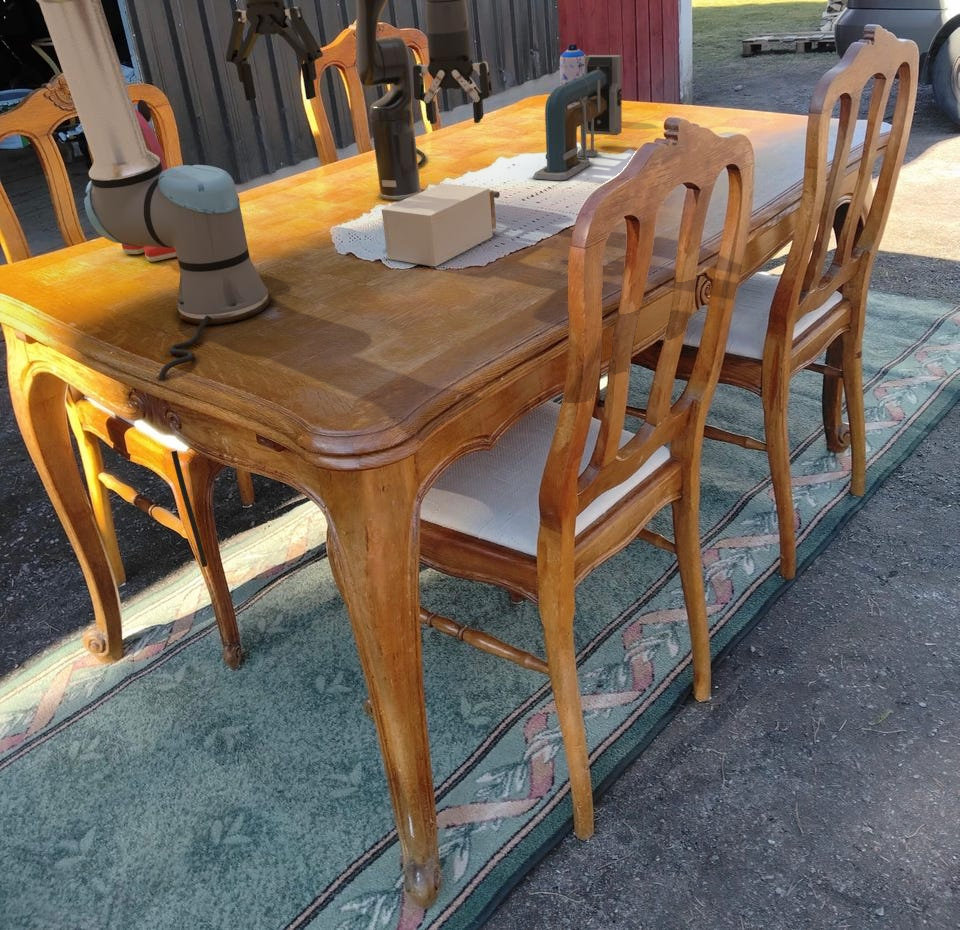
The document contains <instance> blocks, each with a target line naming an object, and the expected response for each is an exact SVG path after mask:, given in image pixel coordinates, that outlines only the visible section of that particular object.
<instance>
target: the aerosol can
mask: <svg viewBox="0 0 960 930" xmlns="http://www.w3.org/2000/svg"><path fill="white" fill-rule="evenodd" d="M586 56H587V55H586V54H585V52H584V51H583V50H581V49H579V48H578V44H577V43H574V44H568V48H567V49H566V50H565V51H563V52H562V53H561V55H560V56H559V79H560V81H559V83H560V84H559V86H562V85H564V84H566V83H568V82H570V81H573V80H575V79H577V78H579V77H581V76H583V75H585V57H586ZM578 104H580V102H574V103H572V104H570V105H568V109H570V108H572V107H574V106H576V105H578Z"/></svg>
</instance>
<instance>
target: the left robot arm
mask: <svg viewBox="0 0 960 930" xmlns="http://www.w3.org/2000/svg"><path fill="white" fill-rule="evenodd" d="M35 1H36V2H37V3H38V5H39V7H40V10H41V13H42V15H43V18H44V22H45V24H46V27H47V31H48V33H49V36H50V38H51V41H52V44H53V47H54V50H55V53H56V56H57V58H58V61H59V64H60V67H61V70H62V73H63V76H64V79H65V82H66V85H67V88H68V90H69V93H70V96H71V99H72V102H73V104H74V107H75V110H76V113H77V116H78V120H79V122H80V125H81V127H82V131H83V133H84V136H85V139H86V142H87V146H88V145H89V148H90V151H91V154H92V156H93V159H94V163H93V165H91V166H90V169H89V170H88V177H89V180H90V181H89V182H88V183H87V185H86V187H85V194H86V196H85V197H84V208H85V213H86V216H87V218H88V221H89V222H90V224H91V226H92V227H93V229H95V231H96V232H97V233H98V234H99V235H100V236H101V237H103V238H104V239H106V240H108V241H109V242H112V243H116V244H121V245H122V244H125V245H128V246H151V247H165V248H175V250H176V255H177V257H176V258H177V262H178V266H179V283H178V294H177V310H178V314H179V318H180V319H182V320H183V321H184V322H186V323H189V324H193V325H197V327H196V330H195V333H194V334H193V336H192V337H190V338H189V340H187V341H183V342H179V343H175V344H173V345H171V346H170V347H169V348H168V350H169V353H170V354H171V355H176V356H182V357H179V358H176V359H173V360H171V361H169V362H167V363H166V364H165V365H164V366H163V367H162V368H161V370H160V371H159V374H158V377H157V381H158V382H162V381H164V380H165V378H166V375H167V373H168V371H170V370H171V369H172V368H173V367H176V366H178V365H182V364H185V363H189V362H191V361H192V360H194V358H195V353H194V352H193V351H191V350H188V349H184V348H187V347H190V346H193V345H194V344H196V342H197V341H198V340H199V339H200V336H201V334H202V333H203V330H204V329H205V328H206V327H207V326H210V325H222V324H230V323H233V322H239V321H241V320H245V319H248V318H251V317H253V316H256V315H258V314H260V312H263V311H264V310H265V309H266V308H267V307H268V306H269V305H270V296H269V291H268V288H267V287H266V284H265V283H264V282H263V280H262V278H261V276H260V274H259V272H258V270H257V269H256V267H255V265H254V264H253V262H252V260H251V257H250V251H249V246H248V241H247V240H248V239H247V236H246V231H245V230H246V229H245V226H244V225H245V224H244V220H243V214H242V209H241V204H240V203H241V201H240V196H239V194H238V192H237V188H236V184H235V181H234V179H233V177H232V176H231V174H230V173H229V172H228V171H226V170H224V169H222V168H219V167H216V166H212V165H207V164H193V165H188V164H183V165H177V166H173V167H169V168H166V170H164V171H163V167H162V164H161V161H160V158H159V157H158V156H157V155H155V154H153V153H152V152H150V151H149V150H148V149H147V148H146V144H145V141H144V138H143V135H142V132H141V128H140V125H139V122H138V119H137V116H136V112H135V109H136V108H135V106H134V104H133V100H132V96H131V93H130V90H129V86H128V84H127V81H126V78H125V75H124V71H123V68H122V65H121V61H120V59H119V56H118V55H119V54H118V52H117V49H116V46H115V43H114V40H113V39H114V38H113V37H112V33H111V30H110V26H109V24H108V21H107V17H106V14H105V11H104V8H103V4H102V1H101V0H35ZM243 1H244V4H245V6H246V10H244V9H242V8H240V9H234V10H233V11H232V12H231V16H232V17H231V18H232V26H231V31H230V35H229V41H228V45H227V50H226V55H225V60H226V62H227V63H232V64H234V65H235V66H236V70H237V75H238V80H239V82H240V83H242V85H243V90H244V91H243V92H244V96H245V100H246V101H252V100H254V99H257V94H256V89H255V82H254V77H253V72H252V67H251V66H252V65H251V63H248V59H249V56H250V55H251V53H252V50H253V48H254V47H255V45H256V43H257V40H258V39H259V37H260V36H265V35H276V34H278V35H279V36H280V37H282V38H283V39H284V40H285V41H286V43H288V45H289V46H290V47H291V48H292V49H293V51H294V52H295V53H296V54H297V55H298V56H299V58H300V59H301V60H302V61H303V62H302V63H300V68H301V73H302V81H303V86H304V93H305V99H306V100H312V99H315V98H316V97H317V93H316V88H315V87H316V86H315V80H317V79H318V75H317V69H316V61H317V60H318V59H321V58H323V57H324V53H323V51H322V49H321V48H320V46H319V45H318V42H317V40H316V39H315V37H314V35H313V33H312V32H311V30H310V28H309V26H308V25H307V22H306V21H305V19H304V16H303V12H302V9H301V7H300V6H298V5H296V6H293V7H289V8H287V7H286V6H285V0H243ZM287 19H289V20H290V21H291V23H292V25H293V27H294V29H295V31H296V32H297V33H298V35H299V37H298V35H297V34H296V33H295V32H294V31H293V28H292V27H291V25H289V23H288V22H287ZM247 21H248V22H249V23H250V26H249V28H248V29H247V31H246V34H247V35H246V36H245V38H244V40H243V42H242V39H243V34H244V30H245V25H246V24H245V23H246V22H247ZM134 108H135V109H134ZM170 453H171V458H172V461H173V467H174V470H175V474H176V477H177V478H176V479H177V482H178V485H179V489H180V493H181V496H182V499H183V503H184V506H185V511H186V513H187V516H188V521H189V523H190V528H191V530H192V535H193V538H194V541H195V544H196V548H197V552H198V556H199V560H200V563H201V567H202V568H206V567H208V561H207V558H206V557H207V556H206V553H205V549H204V546H203V543H202V538H201V535H200V532H199V528H198V524H197V521H196V518H195V514H194V510H193V507H192V503H191V500H190V497H189V493H188V489H187V485H186V482H185V479H184V478H185V477H184V474H183V470H182V466H181V462H180V458H179V454H178V450H173V451H171V452H170Z"/></svg>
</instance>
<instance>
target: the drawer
mask: <svg viewBox="0 0 960 930" xmlns="http://www.w3.org/2000/svg"><path fill="white" fill-rule="evenodd" d="M500 195H501V194H500V191H498V190H497V191H496V190H494V189H493V190H492V189H490V203H491V218H492V230H495V229H497V220H496V218H497V217H496V205H495V203H496V202H495V199H499V198H500Z"/></svg>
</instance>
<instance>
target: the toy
mask: <svg viewBox="0 0 960 930" xmlns="http://www.w3.org/2000/svg"><path fill="white" fill-rule="evenodd" d="M134 109H135V112H136V116H137V119H138V122H139V125H140V128H141V132H142V135H143V138H144V141H145V144H146V148H147V149H148V150H149V151H150V152H152V153H153V154H155V155H157V156H158V157H159V158H160V161H161V164H162V167H163V171H164V170H166V169H167V164H166V161H165V156H164V152H163V149H162V147H161V144H160V141H159V140H158V137H157V135H156V133H155V131H154V129H153V128H152V126H151V125H150V124H149V122H151V119H152V113H151V109H150V107H149V105H148V103H147V102H146V101H145V100H144V99H139V100H138V101H137V108H136V107H134ZM87 150H88V153H89V158H90V161H91V164H92V165H93V163H94V159H93V156H92V154H91V151H90V148H89V145H88V144H87ZM92 165H91V166H92ZM121 247H122V251H123V253H125V254H129V255H140V254H143V253H144V256H145V258H146V260H147V261H149V262H151V263H153V262H157V261H162V260H167V259H172V258H177V255H176V250H175V248H165V247H151V246H128V245H125V244H121Z"/></svg>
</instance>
